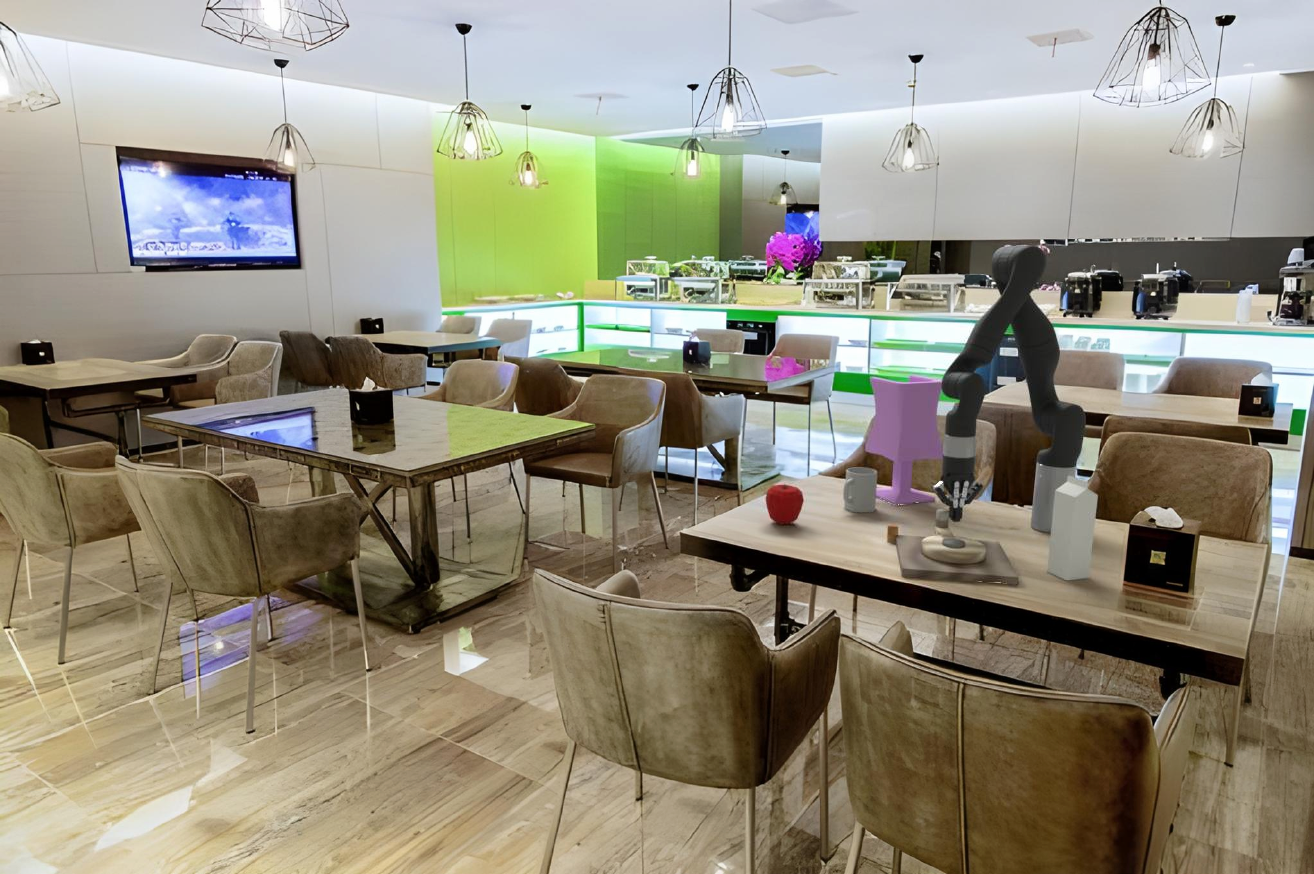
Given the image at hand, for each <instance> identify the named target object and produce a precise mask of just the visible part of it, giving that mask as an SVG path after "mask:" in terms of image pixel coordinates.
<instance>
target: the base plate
mask: <svg viewBox="0 0 1314 874" xmlns="http://www.w3.org/2000/svg"><path fill="white" fill-rule="evenodd" d="M886 531H887V533H886V540H887V543H895V547H896V552H897V558H898V564H899V569H900V573H901V577H908V578H922V579H934V580H936V579H937V580H946V579H948V580H949V581H960V582H972V581H982V582H981V583H985V582H1001V583H1007V584H1006V585H1011V584H1018V585H1019V575H1018V573H1017V572H1016V570H1015V568H1014V565H1013V564H1012V563H1011V561H1010V559H1009V558H1008V555H1007V554H1006V552H1005V550H1004V548H1003V547H1002V545H1001V543H1000V541H998V540H997V541H996V540H979V539H975V540H976V541H978V542H980V543H982V544H983V545H985V547H986V556H985V559H984V560H983V561H981V562H977V563H970V564H957V563H948V562H943V561H938V560H935V559H932V558H930V557H928V556H926V555H924V554H923V553H922V552H921V545H922V540H923V539H924V538H926V537H927V536H921V535H907V534H905V535H904V534H899V524H898V523H890V522H889V523H887V530H886Z"/></svg>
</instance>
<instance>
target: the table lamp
mask: <svg viewBox="0 0 1314 874" xmlns="http://www.w3.org/2000/svg"><path fill="white" fill-rule="evenodd" d="M869 381H870V385H871V387H872V391H873V392H872V393H873V397H874V406H875V408H874V410H875V411H874V412H875V415H874V420H873V425H872V428H871V431H870V433H869V436H868V438H867V439H866V442H865V448H864V451H865V452H867V453H870V454H873V455H879V456H882V457H884V458H887V459H888V460H890V461H892V462H893V466H892V482H891V483H892V484H891V487H882V488H881V487H880V488H876V497H878V498H877V499H879V498H881V499H882V500H881V499H880V500H881V501H883V500H885V501H884V502H886V501H887V502H886V503H888V502H890V503H892V504H895V505H898V504H899V505H898V506H901V505H900V504H907V505H911V504H910V503H916V502H925V503H932V502H931V501H934V502H936V497H935V496H932V495H930V494H928V493H925V492H923V491H920V490H918V489H916V488H912V478H913V477H912V476H913V463H914V462H913V461H918V460H925V459H926V460H927V459H928V460H939V459H940V460H941V459H943V444H942V441H941V437H940V434H939V430H938V422H937V421H938V419H937V418H938V417H937V415H938V406H939V401H940V398H941V393H942V388H941V383H942V379H938V378H932V377H926V376H923V375H918V374H909V376H908V382H903V381H896V380H890V379H886V378H881V377H876V376H870V377H869ZM929 501H930V502H929ZM890 503H889V504H890ZM892 504H891V505H892ZM916 504H917V503H916ZM895 505H894V506H895Z"/></svg>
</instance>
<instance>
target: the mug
mask: <svg viewBox="0 0 1314 874" xmlns="http://www.w3.org/2000/svg"><path fill="white" fill-rule="evenodd" d="M877 483H878V471H877V470H876V469H875V468H874V469H873V468H870V467H860V466H857V467H855V466H854V467H849V468H847V469H846V470H845V483H844V485H843V493H842V495H843V501H844V503H843V505H844V507H845V508H844V510H846V509H847V510H846V511H848V510H849V512H851V511H854V512H853V513H857V512H869V513H873V512H875V511H876V505H877V503H876V502H877V498H876V489H878V488H877ZM872 511H873V512H872Z"/></svg>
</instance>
